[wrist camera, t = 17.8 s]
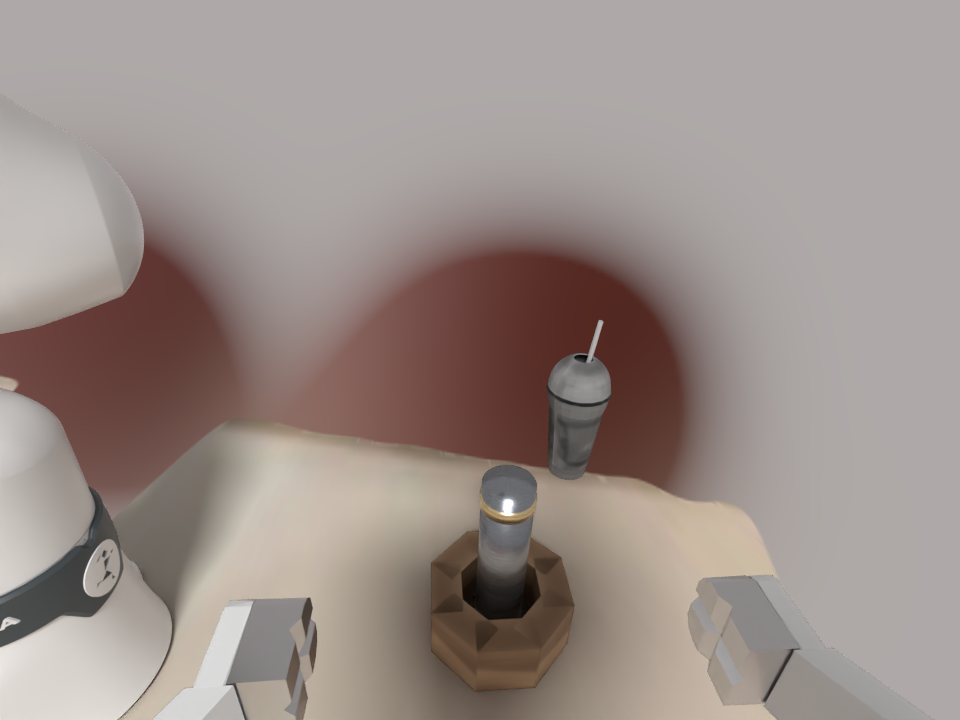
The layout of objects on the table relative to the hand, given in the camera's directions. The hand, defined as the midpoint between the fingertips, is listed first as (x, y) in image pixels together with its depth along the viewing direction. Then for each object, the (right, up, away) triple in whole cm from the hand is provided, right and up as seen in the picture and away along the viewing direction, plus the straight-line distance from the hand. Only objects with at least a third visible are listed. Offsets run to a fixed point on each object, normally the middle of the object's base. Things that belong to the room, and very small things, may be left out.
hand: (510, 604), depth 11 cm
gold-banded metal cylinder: (+1, -18, +34) cm, 39 cm away
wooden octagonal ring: (+1, -18, +34) cm, 39 cm away
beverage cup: (+10, -8, +53) cm, 54 cm away
